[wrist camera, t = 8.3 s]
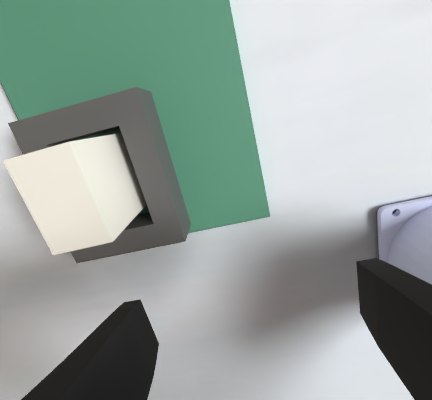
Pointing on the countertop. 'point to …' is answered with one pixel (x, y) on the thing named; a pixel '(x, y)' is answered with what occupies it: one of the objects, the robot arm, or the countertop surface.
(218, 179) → the board
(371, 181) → the countertop surface
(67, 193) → the plug
